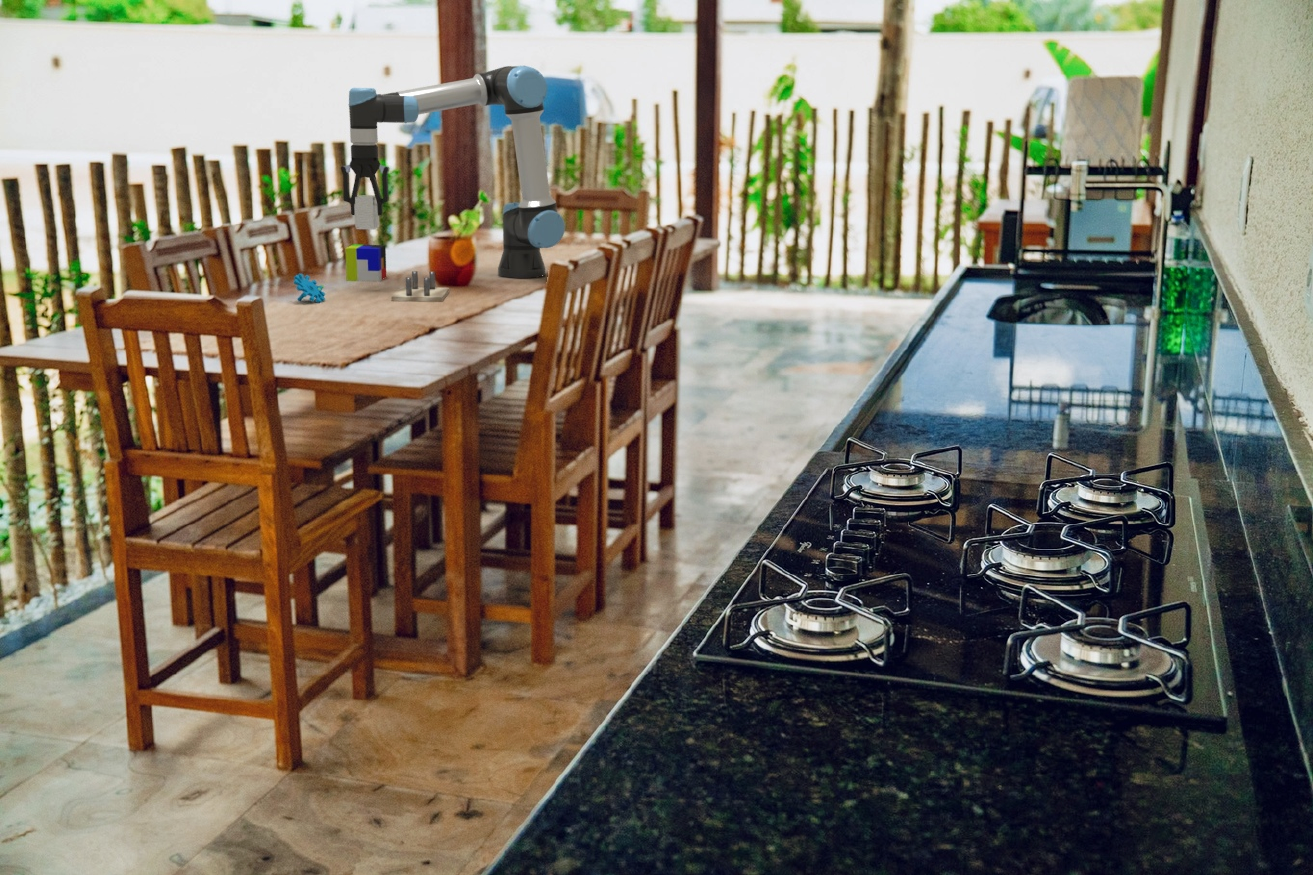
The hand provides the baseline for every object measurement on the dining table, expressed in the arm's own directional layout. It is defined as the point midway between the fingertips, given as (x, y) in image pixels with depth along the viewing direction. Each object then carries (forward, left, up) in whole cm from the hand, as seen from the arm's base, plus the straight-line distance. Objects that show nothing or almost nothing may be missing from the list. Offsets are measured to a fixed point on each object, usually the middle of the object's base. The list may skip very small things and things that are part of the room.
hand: (367, 226), depth 380 cm
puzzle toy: (+5, -24, -19) cm, 31 cm away
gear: (+13, +20, -19) cm, 30 cm away
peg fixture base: (-16, +9, -19) cm, 26 cm away
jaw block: (0, 0, 0) cm, 0 cm away
